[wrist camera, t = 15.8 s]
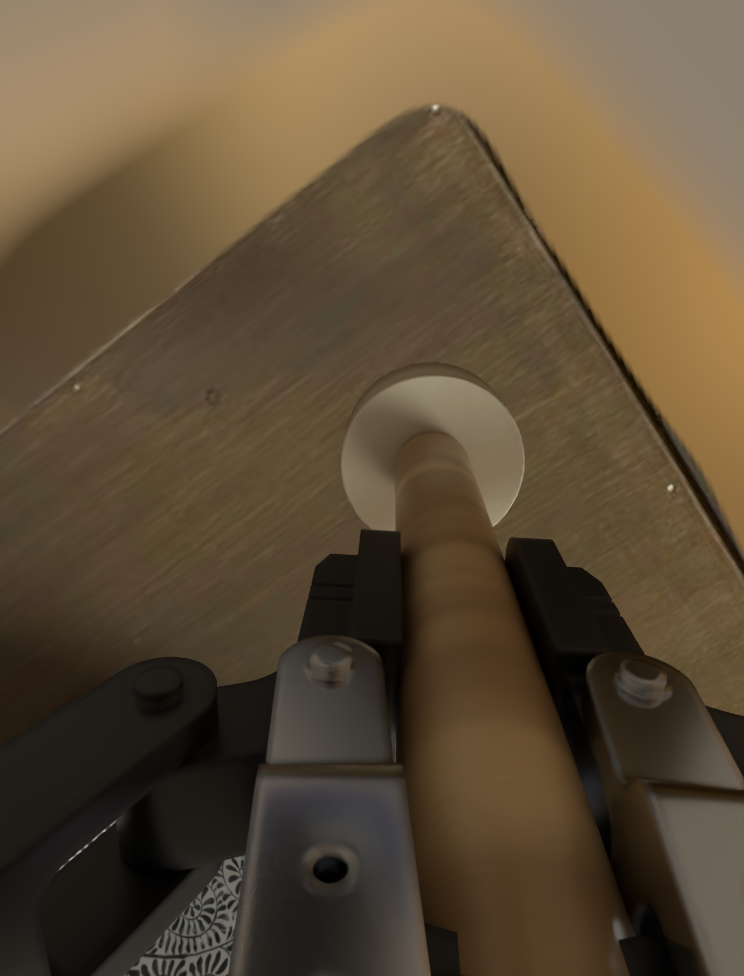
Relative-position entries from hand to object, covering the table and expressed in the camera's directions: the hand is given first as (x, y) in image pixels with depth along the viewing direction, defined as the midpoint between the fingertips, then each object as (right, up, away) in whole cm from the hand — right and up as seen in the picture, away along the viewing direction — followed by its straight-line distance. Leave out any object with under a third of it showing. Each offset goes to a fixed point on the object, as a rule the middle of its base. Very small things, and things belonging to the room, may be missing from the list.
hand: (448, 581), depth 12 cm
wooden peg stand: (0, +3, +8) cm, 8 cm away
